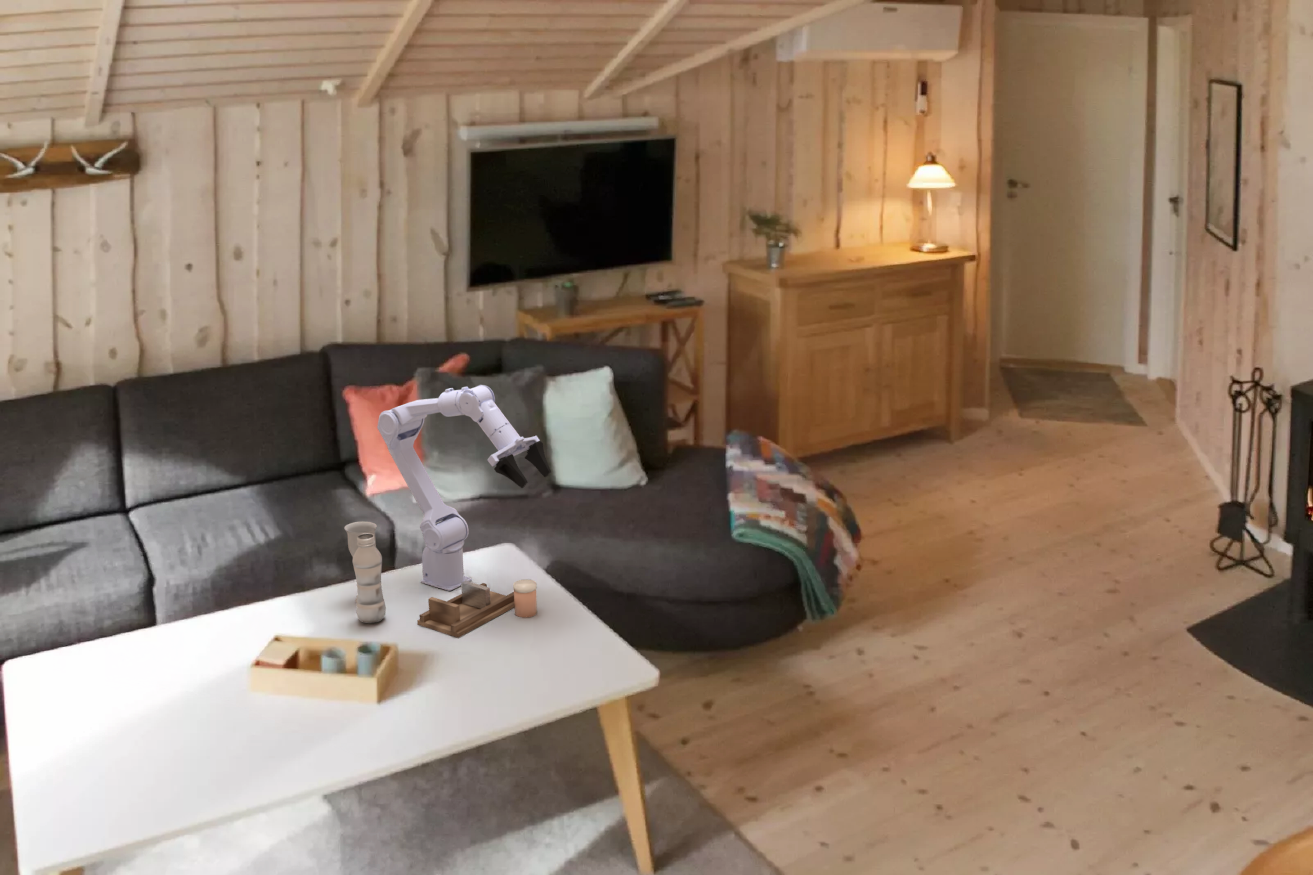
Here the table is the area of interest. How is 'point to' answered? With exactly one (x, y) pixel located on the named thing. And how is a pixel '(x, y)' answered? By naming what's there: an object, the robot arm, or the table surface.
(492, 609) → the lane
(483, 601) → the plate
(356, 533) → the chalice
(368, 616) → the plastic bottle
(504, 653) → the table surface
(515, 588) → the jar
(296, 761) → the table surface
